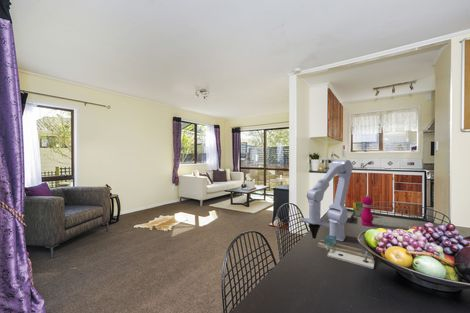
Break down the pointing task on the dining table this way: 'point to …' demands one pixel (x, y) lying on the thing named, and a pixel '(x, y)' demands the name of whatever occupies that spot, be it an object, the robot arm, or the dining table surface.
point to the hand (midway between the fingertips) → (314, 237)
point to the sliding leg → (330, 241)
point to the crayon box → (358, 208)
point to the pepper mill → (367, 211)
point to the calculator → (349, 217)
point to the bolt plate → (351, 258)
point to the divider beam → (347, 250)
